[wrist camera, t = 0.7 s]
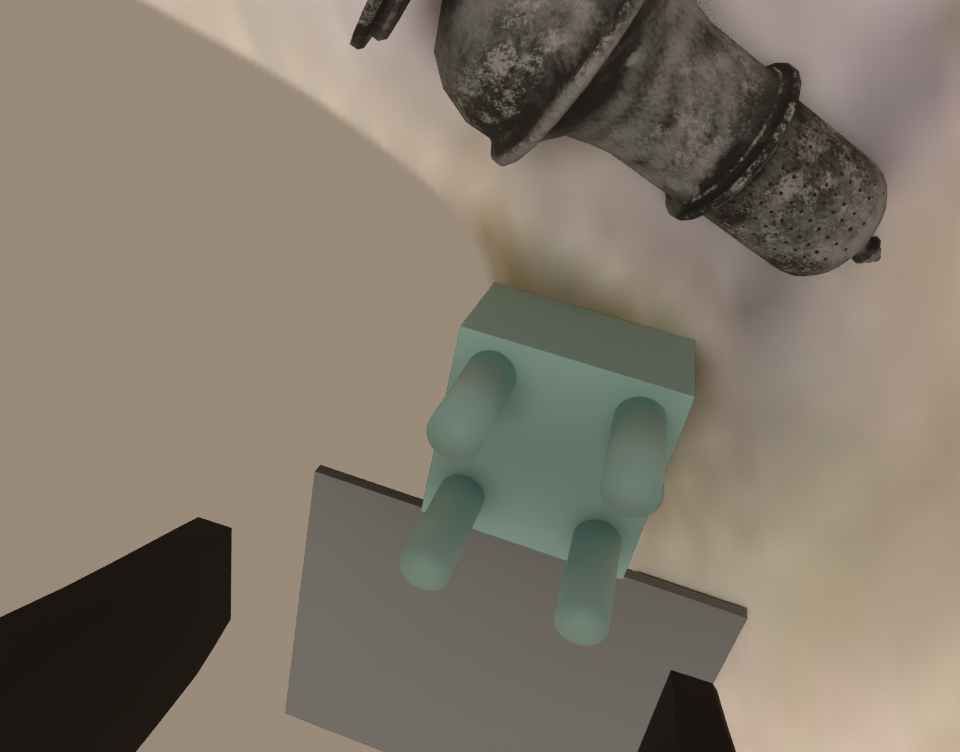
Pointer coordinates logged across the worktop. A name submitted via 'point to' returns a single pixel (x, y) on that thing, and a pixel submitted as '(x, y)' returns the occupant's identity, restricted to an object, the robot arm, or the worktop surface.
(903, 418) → the worktop surface
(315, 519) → the mat
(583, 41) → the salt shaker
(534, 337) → the stool
